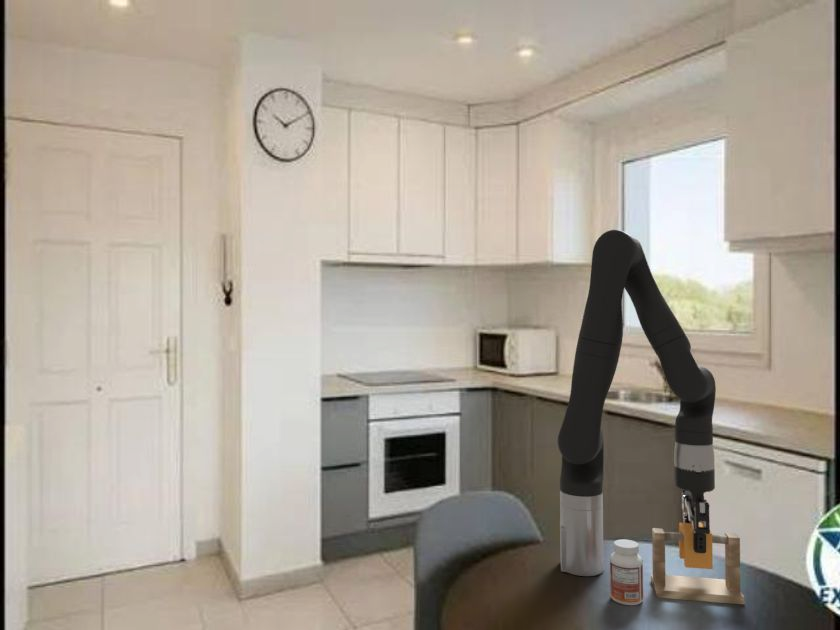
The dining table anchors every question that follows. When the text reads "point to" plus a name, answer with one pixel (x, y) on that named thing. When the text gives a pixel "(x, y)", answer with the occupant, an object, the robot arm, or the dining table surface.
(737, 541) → the rack
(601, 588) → the dining table surface
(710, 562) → the notched orange block
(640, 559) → the pill bottle
